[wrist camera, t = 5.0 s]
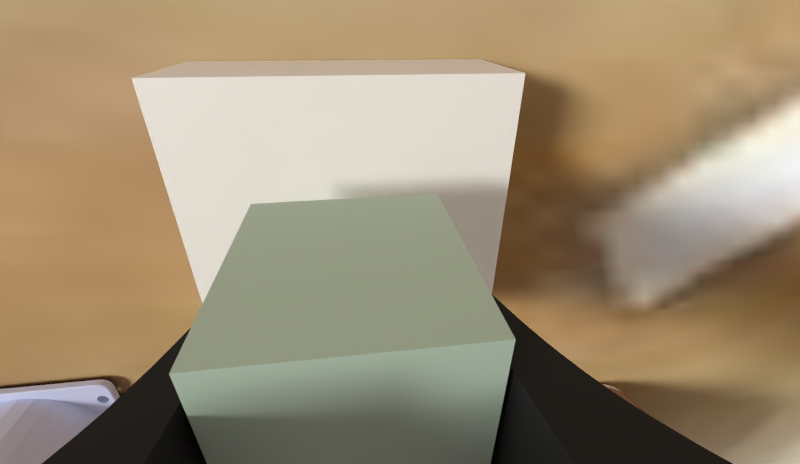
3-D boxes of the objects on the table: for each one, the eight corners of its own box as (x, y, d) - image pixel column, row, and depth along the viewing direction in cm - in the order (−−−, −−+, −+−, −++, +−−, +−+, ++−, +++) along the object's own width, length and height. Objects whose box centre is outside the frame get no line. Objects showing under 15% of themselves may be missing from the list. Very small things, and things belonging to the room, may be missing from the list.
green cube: (430, 328, 12) (481, 509, 8) (279, 342, 11) (241, 544, 7) (437, 193, 10) (515, 338, 5) (251, 203, 9) (168, 373, 5)
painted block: (458, 282, 19) (484, 342, 15) (246, 298, 18) (222, 367, 14) (480, 58, 14) (525, 73, 10) (188, 61, 13) (131, 78, 9)
